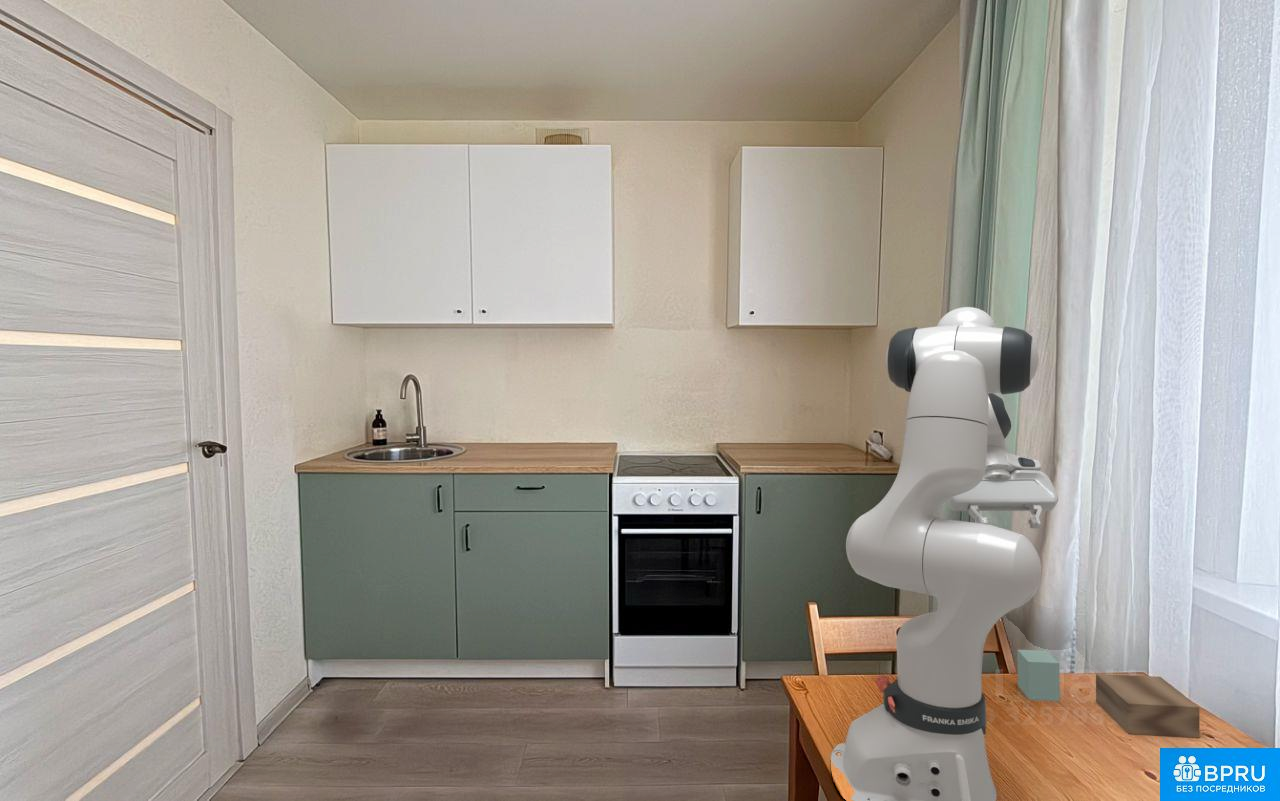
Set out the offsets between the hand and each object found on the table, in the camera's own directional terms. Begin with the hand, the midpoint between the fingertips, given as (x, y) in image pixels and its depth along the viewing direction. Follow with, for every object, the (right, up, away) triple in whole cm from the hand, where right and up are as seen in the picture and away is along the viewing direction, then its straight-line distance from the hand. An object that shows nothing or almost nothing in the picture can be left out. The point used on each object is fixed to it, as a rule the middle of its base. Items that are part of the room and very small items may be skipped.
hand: (1009, 527), depth 127 cm
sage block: (-1, -28, -11) cm, 30 cm away
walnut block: (+11, -28, -20) cm, 36 cm away
